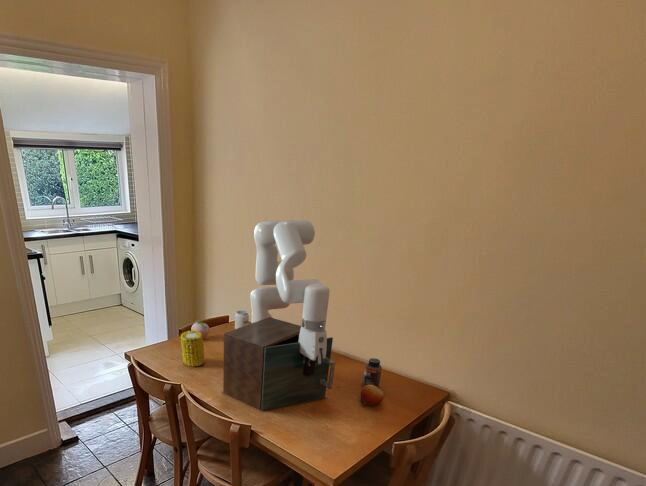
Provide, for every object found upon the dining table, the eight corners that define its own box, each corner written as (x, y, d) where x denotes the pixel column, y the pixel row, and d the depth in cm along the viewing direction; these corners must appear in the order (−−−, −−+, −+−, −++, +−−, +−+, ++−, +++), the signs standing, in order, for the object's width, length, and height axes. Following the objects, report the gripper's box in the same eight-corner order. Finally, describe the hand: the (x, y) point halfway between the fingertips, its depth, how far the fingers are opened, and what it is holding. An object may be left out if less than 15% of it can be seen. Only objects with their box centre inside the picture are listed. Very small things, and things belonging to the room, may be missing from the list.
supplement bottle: (378, 384, 161) (383, 358, 156) (378, 391, 156) (383, 364, 151) (362, 382, 163) (366, 356, 158) (362, 389, 158) (366, 362, 153)
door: (334, 405, 146) (343, 343, 136) (269, 419, 138) (274, 354, 128) (323, 396, 152) (331, 337, 142) (260, 409, 144) (264, 347, 134)
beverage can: (244, 337, 208) (244, 315, 203) (232, 335, 211) (232, 313, 206) (250, 333, 213) (251, 311, 208) (238, 331, 217) (239, 309, 212)
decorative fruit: (187, 339, 207) (187, 320, 202) (199, 335, 212) (198, 316, 208) (201, 344, 201) (200, 324, 197) (212, 339, 206) (212, 320, 202)
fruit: (350, 394, 150) (364, 377, 148) (366, 403, 153) (380, 387, 150) (360, 406, 143) (374, 388, 140) (376, 415, 145) (391, 397, 143)
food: (208, 365, 181) (190, 373, 176) (191, 352, 188) (174, 359, 182) (212, 337, 172) (193, 344, 166) (194, 324, 179) (176, 330, 173)
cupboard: (302, 385, 160) (308, 327, 150) (260, 410, 144) (263, 346, 134) (266, 371, 172) (269, 317, 162) (223, 392, 156) (223, 333, 145)
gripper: (338, 329, 127) (330, 382, 135) (309, 315, 139) (305, 364, 147) (317, 332, 124) (311, 386, 132) (291, 318, 137) (286, 368, 145)
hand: (308, 374), depth 140 cm, fingers closed
